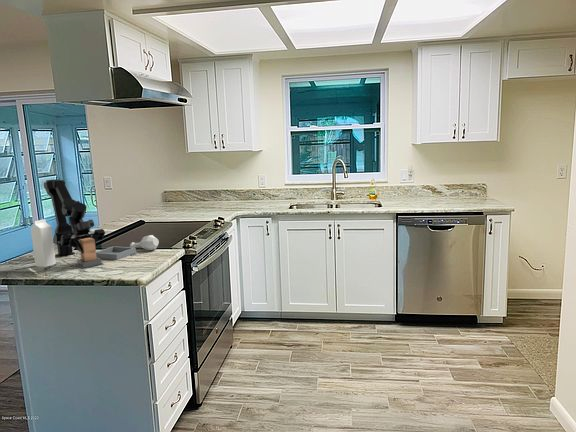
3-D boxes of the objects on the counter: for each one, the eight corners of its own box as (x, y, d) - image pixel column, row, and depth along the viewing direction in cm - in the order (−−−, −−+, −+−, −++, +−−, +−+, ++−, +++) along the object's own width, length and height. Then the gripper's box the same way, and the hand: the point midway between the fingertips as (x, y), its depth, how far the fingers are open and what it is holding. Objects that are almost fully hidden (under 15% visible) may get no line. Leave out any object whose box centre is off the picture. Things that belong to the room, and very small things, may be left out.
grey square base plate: (74, 266, 199) (73, 259, 199) (96, 262, 206) (95, 255, 206) (82, 270, 192) (81, 263, 192) (104, 265, 199) (104, 259, 198)
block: (82, 264, 199) (79, 239, 197) (93, 262, 202) (90, 237, 201) (85, 266, 196) (83, 240, 194) (97, 264, 199) (94, 239, 197)
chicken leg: (139, 247, 238) (131, 235, 234) (163, 243, 230) (156, 230, 226) (130, 257, 231) (122, 244, 228) (155, 253, 223) (147, 240, 220)
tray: (93, 259, 211) (93, 252, 210) (113, 252, 224) (113, 246, 223) (117, 261, 206) (116, 254, 206) (136, 254, 219) (135, 247, 219)
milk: (35, 268, 199) (29, 221, 196) (46, 264, 205) (40, 218, 202) (45, 268, 198) (39, 221, 194) (56, 265, 203) (50, 219, 200)
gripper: (59, 217, 192) (70, 245, 186) (101, 212, 204) (113, 237, 198) (55, 232, 199) (66, 259, 192) (96, 226, 211) (108, 251, 205)
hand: (89, 251), depth 197 cm, fingers closed on block, 5 cm apart
